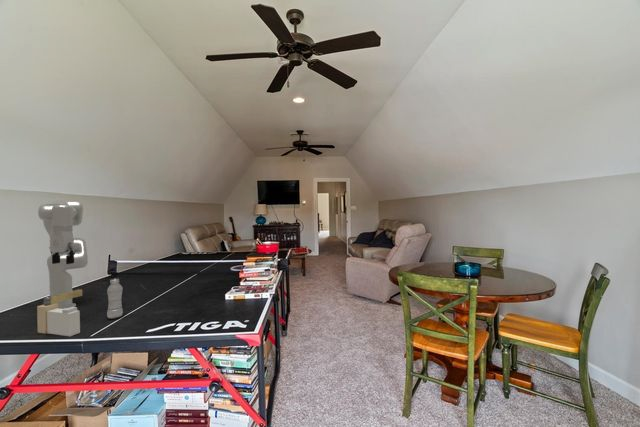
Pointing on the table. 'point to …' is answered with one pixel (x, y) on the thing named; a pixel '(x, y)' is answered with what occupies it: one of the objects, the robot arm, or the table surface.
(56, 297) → the swing bar
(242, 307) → the table surface
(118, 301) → the plastic bottle
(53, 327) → the cream stepped two-tone block
